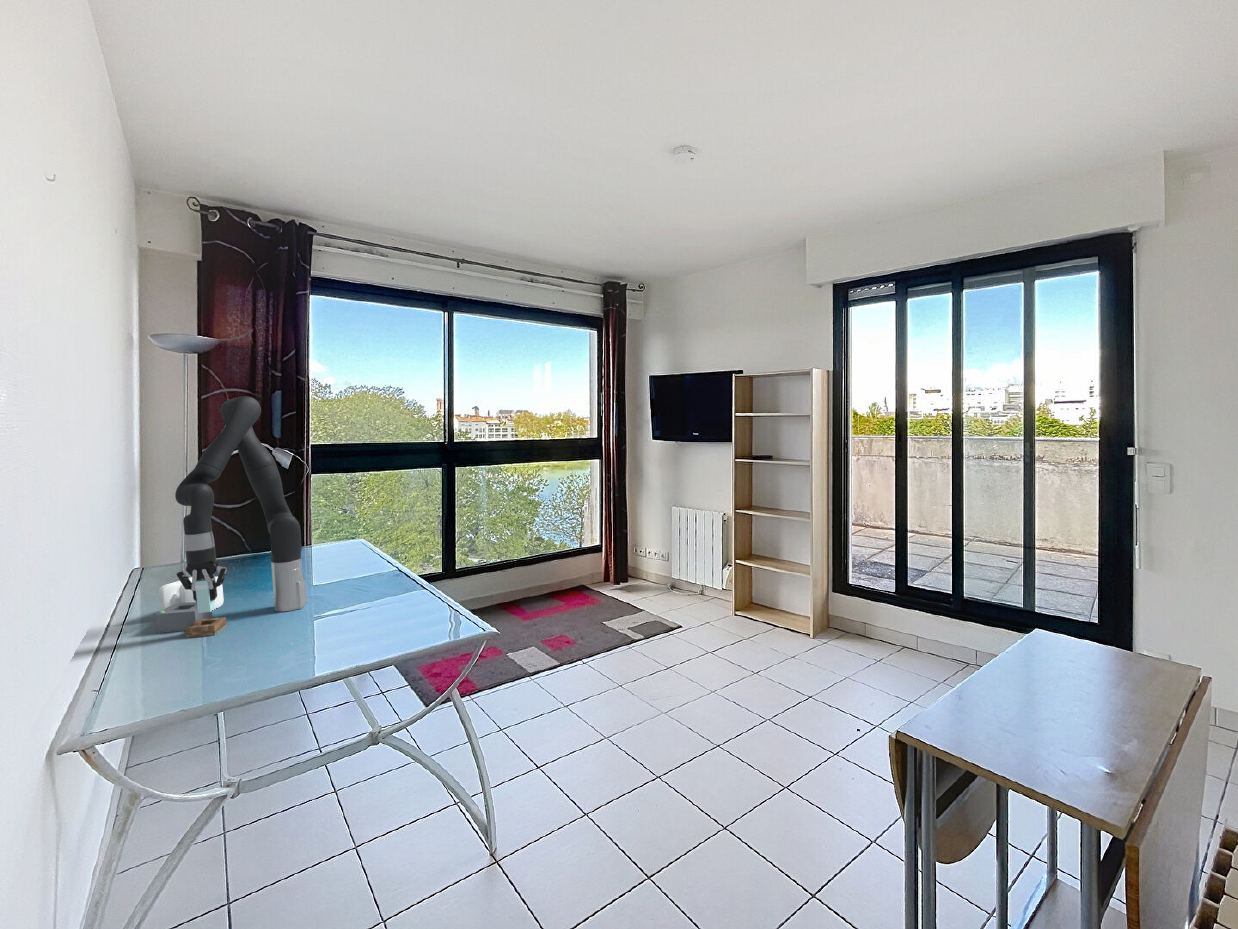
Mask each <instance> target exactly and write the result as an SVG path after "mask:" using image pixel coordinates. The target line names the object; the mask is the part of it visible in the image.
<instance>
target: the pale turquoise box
mask: <svg viewBox="0 0 1238 929" xmlns="http://www.w3.org/2000/svg"><path fill="white" fill-rule="evenodd" d="M195 590H196V597H197V607H198V613H204V612H211V611H212V610H213V611H215V610H216V609H215V600H213V601H210V593H209V590H210V588H209V585H208V582H206V580H205V579H200V580H197V581H196V583H195ZM214 609H215V610H214ZM213 611H212V612H213Z"/></svg>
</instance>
